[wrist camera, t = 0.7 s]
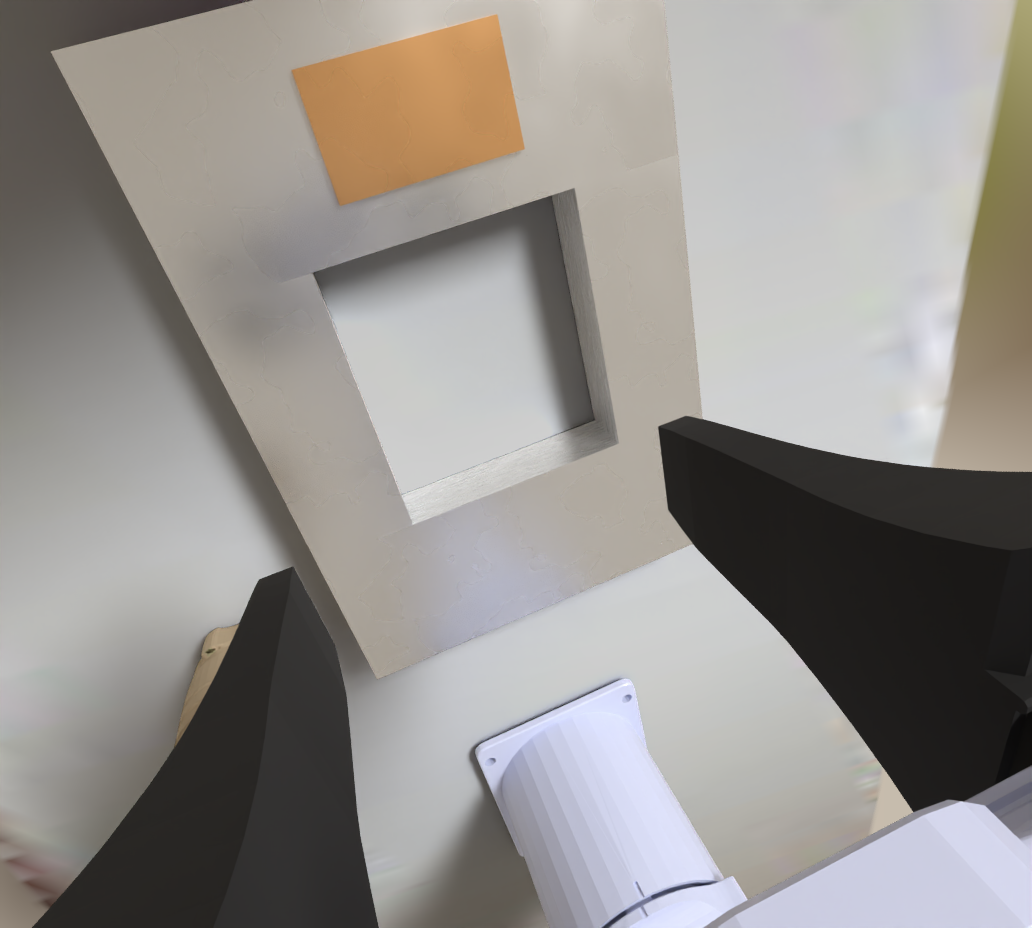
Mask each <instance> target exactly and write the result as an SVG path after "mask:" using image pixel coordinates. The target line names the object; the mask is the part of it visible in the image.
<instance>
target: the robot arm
mask: <svg viewBox="0 0 1032 928" xmlns="http://www.w3.org/2000/svg"><path fill="white" fill-rule="evenodd" d="M658 431H659V439H660V447H661V456H662V464H663V472H664V481H665V489H666V497H667V505H668V511H669V512H670V513H671V515H672V516H673V518H674V519H675V520H676V522H677V523H678V525H679V526H680V527H681V529H682V530H683V531H684V533H685V534H686V535H687V537H688V538H689V539H690V541H691V542H692V543H693V544H694V546H695V547H696V548H697V549H698V550H699V551H700V552H701V553H702V554H703V556H704V557H705V558H706V559H707V560H708V561H709V562H710V563H711V564H712V565H713V566H714V567H715V568H716V569H717V570H718V571H719V572H720V573H721V574H722V575H723V576H724V577H725V578H726V579H727V580H728V581H729V582H730V583H731V584H732V585H733V586H734V587H735V588H736V589H737V590H738V591H739V592H740V593H741V594H742V595H743V596H744V597H745V598H746V599H747V600H748V601H749V602H750V603H751V604H752V605H753V606H754V607H755V608H756V609H757V610H758V611H759V612H760V613H761V614H762V615H763V616H764V617H765V618H766V619H767V620H768V621H769V622H770V623H771V624H772V625H773V626H774V627H775V628H776V630H777V631H778V632H779V633H780V634H781V635H782V636H783V637H784V638H785V639H786V640H787V642H788V643H789V644H790V645H791V647H792V648H793V649H794V650H795V652H796V653H797V654H798V655H799V657H800V658H801V659H802V660H803V661H804V663H805V664H806V665H807V666H808V668H809V669H810V670H811V671H812V673H813V674H814V675H815V676H816V678H817V679H818V680H819V681H820V683H821V684H822V685H823V687H824V688H825V689H826V691H827V692H828V693H829V695H830V696H831V697H832V699H833V700H834V701H835V702H836V704H837V705H838V706H839V708H840V709H841V710H842V712H843V713H844V714H845V716H846V717H847V718H848V720H849V721H850V722H851V723H852V725H853V726H854V728H855V729H856V730H857V732H858V733H859V735H860V736H861V737H862V739H863V740H864V742H865V743H866V744H867V746H868V747H869V749H870V750H871V751H872V753H873V754H874V756H875V757H876V758H877V760H878V761H879V763H880V764H881V765H882V767H883V768H884V769H885V771H886V772H887V774H888V775H889V776H890V778H891V779H892V781H893V782H894V784H895V785H896V787H897V788H898V790H899V791H900V793H901V794H902V796H903V797H904V799H905V800H906V801H907V803H908V805H909V806H910V808H911V809H912V811H913V813H911V814H910V815H908V816H906V817H904V818H902V819H900V820H898V821H896V822H894V823H892V824H890V825H889V826H887V827H885V828H883V829H881V830H879V831H877V832H875V833H873V834H872V835H870V836H868V837H866V838H864V839H862V840H860V841H858V842H856V843H855V844H853V845H851V846H849V847H847V848H845V849H843V850H841V851H839V852H838V853H836V854H834V855H832V856H830V857H828V858H826V859H824V860H822V861H820V862H819V863H817V864H815V865H813V866H811V867H809V868H807V869H805V870H803V871H802V872H800V873H798V874H796V875H794V876H792V877H790V878H788V879H786V880H785V881H783V882H781V883H779V884H777V885H775V886H773V887H771V888H769V889H768V890H766V891H764V892H762V893H760V894H757V895H755V896H754V897H752V898H750V899H749V900H747V898H746V896H745V895H744V893H743V891H742V890H741V888H740V887H739V885H738V883H737V882H736V880H735V878H734V877H733V876H730V877H728V878H726V879H724V877H723V876H722V874H721V872H720V871H719V869H718V867H717V866H716V864H715V862H714V861H713V859H712V857H711V856H710V854H709V852H708V851H707V849H706V847H705V846H704V844H703V842H702V841H701V839H700V837H699V836H698V834H697V832H696V831H695V829H694V827H693V826H692V824H691V822H690V821H689V819H688V817H687V816H686V814H685V812H684V811H683V809H682V807H681V806H680V804H679V802H678V801H677V799H676V797H675V796H674V794H673V792H672V791H671V789H670V787H669V786H668V784H667V782H666V781H665V779H664V777H663V776H662V774H661V772H660V771H659V769H658V767H657V766H656V764H655V762H654V761H653V759H652V757H651V756H650V754H649V752H648V751H647V746H646V741H645V736H644V731H643V726H642V721H641V717H640V712H639V707H638V702H637V697H636V692H635V687H634V685H633V684H632V682H631V680H629V679H621V680H618V681H616V682H614V683H612V684H610V685H608V686H605V687H603V688H601V689H599V690H597V691H594V692H592V693H590V694H588V695H586V696H584V697H581V698H579V699H577V700H575V701H573V702H570V703H568V704H566V705H564V706H562V707H560V708H557V709H555V710H553V711H551V712H549V713H546V714H544V715H542V716H540V717H538V718H535V719H533V720H531V721H529V722H527V723H525V724H522V725H520V726H518V727H516V728H514V729H511V730H509V731H507V732H505V733H503V734H501V735H498V736H496V737H494V738H492V739H490V740H487V741H485V742H483V743H481V744H480V745H479V746H478V747H477V748H476V750H475V754H476V757H477V760H478V762H479V765H480V767H481V769H482V771H483V774H484V776H485V778H486V781H487V783H488V785H489V787H490V790H491V792H492V794H493V796H494V799H495V801H496V803H497V806H498V808H499V810H500V812H501V815H502V817H503V819H504V821H505V824H506V826H507V828H508V831H509V833H510V835H511V837H512V840H513V842H514V844H515V846H516V849H517V851H518V853H519V855H520V856H523V857H524V858H525V861H526V863H527V866H528V869H529V872H530V875H531V878H532V880H533V883H534V886H535V889H536V892H537V895H538V897H539V900H540V903H541V906H542V909H543V912H544V914H545V917H546V920H547V923H548V926H549V928H1032V472H996V471H972V470H956V469H944V468H931V467H921V466H911V465H902V464H895V463H889V462H882V461H875V460H868V459H861V458H856V457H850V456H845V455H840V454H835V453H831V452H826V451H821V450H817V449H812V448H808V447H804V446H800V445H795V444H791V443H787V442H784V441H780V440H776V439H772V438H769V437H765V436H761V435H758V434H754V433H750V432H747V431H743V430H740V429H736V428H733V427H729V426H726V425H722V424H718V423H715V422H711V421H707V420H703V419H699V418H695V417H690V416H684V417H681V418H679V419H676V420H673V421H671V422H668V423H666V424H663V425H660V426H658ZM32 928H379V927H378V922H377V917H376V913H375V908H374V903H373V898H372V894H371V889H370V883H369V878H368V873H367V868H366V863H365V858H364V853H363V848H362V843H361V837H360V830H359V823H358V815H357V806H356V795H355V783H354V772H353V761H352V749H351V738H350V727H349V717H348V706H347V697H346V691H345V687H344V682H343V677H342V673H341V669H340V664H339V660H338V656H337V651H336V647H335V645H334V643H333V641H332V639H331V637H330V635H329V633H328V631H327V629H326V628H325V626H324V624H323V622H322V620H321V618H320V616H319V614H318V613H317V611H316V609H315V607H314V605H313V603H312V601H311V599H310V597H309V596H308V594H307V592H306V590H305V588H304V586H303V584H302V582H301V580H300V579H299V577H298V575H297V573H296V571H295V569H294V567H290V568H288V569H285V570H283V571H280V572H277V573H275V574H272V575H270V576H267V577H264V578H262V579H259V581H258V583H257V585H256V587H255V589H254V591H253V593H252V595H251V598H250V600H249V602H248V605H247V607H246V609H245V612H244V614H243V616H242V618H241V621H240V623H239V625H238V628H237V630H236V632H235V634H234V637H233V639H232V641H231V643H230V645H229V647H228V649H227V652H226V654H225V656H224V658H223V660H222V662H221V664H220V666H219V669H218V671H217V673H216V675H215V677H214V679H213V681H212V683H211V685H210V686H209V688H208V690H207V692H206V694H205V696H204V698H203V699H202V701H201V703H200V705H199V707H198V709H197V711H196V712H195V714H194V716H193V718H192V720H191V722H190V723H189V725H188V727H187V728H186V730H185V732H184V733H183V735H182V737H181V738H180V740H179V741H178V743H177V745H176V746H175V748H174V749H173V751H172V752H171V754H170V755H169V757H168V758H167V760H166V761H165V763H164V764H163V766H162V767H161V769H160V770H159V772H158V773H157V775H156V776H155V778H154V779H153V781H152V782H151V784H150V785H149V786H148V788H147V789H146V790H145V792H144V793H143V794H142V796H141V797H140V798H139V800H138V801H137V802H136V804H135V805H134V806H133V808H132V809H131V810H130V812H129V813H128V814H127V815H126V817H125V818H124V819H123V821H122V822H121V823H120V825H119V826H118V827H117V829H116V830H115V831H114V833H113V834H112V835H111V837H110V838H109V839H108V841H107V842H106V843H105V844H104V846H103V847H102V848H101V849H100V850H99V852H98V853H97V854H96V855H95V856H94V858H93V859H92V860H91V861H90V862H89V864H88V865H87V866H86V867H85V868H84V870H83V871H82V872H81V873H80V874H79V876H78V877H77V878H76V879H75V880H74V881H73V882H72V884H71V885H70V886H69V887H68V888H67V889H66V890H65V892H64V893H63V894H62V895H61V896H60V897H59V898H58V899H57V901H56V902H55V903H54V904H53V905H52V906H51V907H50V909H49V910H48V911H47V912H46V913H45V914H44V915H43V916H42V917H41V918H40V919H39V921H38V922H37V923H36V924H35V925H34V926H33V927H32Z"/></svg>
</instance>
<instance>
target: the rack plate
mask: <svg viewBox="0 0 1032 928" xmlns="http://www.w3.org/2000/svg"><path fill="white" fill-rule="evenodd" d="M51 53H52V55H53V57H54V59H55V61H56V63H57V65H58V67H59V69H60V71H61V73H62V75H63V76H64V78H65V80H66V82H67V84H68V86H69V88H70V90H71V92H72V94H73V96H74V98H75V100H76V101H77V103H78V105H79V107H80V109H81V111H82V113H83V115H84V117H85V119H86V121H87V123H88V125H89V126H90V128H91V130H92V132H93V134H94V136H95V138H96V140H97V142H98V144H99V146H100V148H101V150H102V151H103V153H104V155H105V157H106V159H107V161H108V163H109V165H110V167H111V169H112V171H113V173H114V175H115V176H116V178H117V180H118V182H119V184H120V186H121V188H122V190H123V192H124V194H125V196H126V198H127V200H128V201H129V203H130V205H131V207H132V209H133V211H134V213H135V215H136V217H137V219H138V221H139V223H140V225H141V226H142V228H143V230H144V232H145V234H146V236H147V238H148V240H149V242H150V244H151V246H152V248H153V250H154V251H155V253H156V255H157V257H158V259H159V261H160V263H161V265H162V267H163V269H164V271H165V273H166V275H167V276H168V278H169V280H170V282H171V284H172V286H173V288H174V290H175V292H176V294H177V296H178V298H179V300H180V301H181V303H182V305H183V307H184V309H185V311H186V313H187V315H188V317H189V319H190V321H191V323H192V325H193V326H194V328H195V330H196V332H197V334H198V336H199V338H200V340H201V342H202V344H203V346H204V348H205V350H206V351H207V353H208V355H209V357H210V359H211V361H212V363H213V365H214V367H215V369H216V371H217V373H218V375H219V376H220V378H221V380H222V382H223V384H224V386H225V388H226V390H227V392H228V394H229V396H230V398H231V400H232V401H233V403H234V405H235V407H236V409H237V411H238V413H239V415H240V417H241V419H242V421H243V423H244V425H245V426H246V428H247V430H248V432H249V434H250V436H251V438H252V440H253V442H254V444H255V446H256V448H257V450H258V451H259V453H260V455H261V457H262V459H263V461H264V463H265V465H266V467H267V469H268V471H269V473H270V475H271V476H272V478H273V480H274V482H275V484H276V486H277V488H278V490H279V492H280V494H281V496H282V498H283V500H284V501H285V503H286V505H287V507H288V509H289V511H290V513H291V515H292V517H293V519H294V521H295V523H296V525H297V526H298V528H299V530H300V532H301V534H302V536H303V538H304V540H305V542H306V544H307V546H308V548H309V550H310V551H311V553H312V555H313V557H314V559H315V561H316V563H317V565H318V567H319V569H320V571H321V573H322V575H323V576H324V578H325V580H326V582H327V584H328V586H329V588H330V590H331V592H332V594H333V596H334V598H335V600H336V601H337V603H338V605H339V607H340V609H341V611H342V613H343V615H344V617H345V619H346V621H347V623H348V625H349V626H350V628H351V630H352V632H353V634H354V636H355V638H356V640H357V642H358V644H359V646H360V648H361V650H362V651H363V653H364V655H365V657H366V659H367V661H368V663H369V665H370V667H371V669H372V671H373V673H374V675H375V676H376V678H377V679H380V678H382V677H384V676H387V675H389V674H391V673H394V672H396V671H398V670H401V669H403V668H405V667H408V666H410V665H412V664H415V663H417V662H419V661H422V660H424V659H426V658H429V657H431V656H433V655H436V654H438V653H440V652H443V651H445V650H447V649H450V648H452V647H454V646H457V645H459V644H461V643H464V642H466V641H468V640H470V639H473V638H475V637H477V636H480V635H482V634H484V633H487V632H489V631H491V630H494V629H496V628H498V627H501V626H503V625H505V624H508V623H510V622H512V621H515V620H517V619H519V618H522V617H524V616H526V615H529V614H531V613H533V612H536V611H538V610H540V609H543V608H545V607H547V606H550V605H552V604H554V603H557V602H559V601H561V600H563V599H566V598H568V597H570V596H573V595H575V594H577V593H580V592H582V591H584V590H587V589H589V588H591V587H594V586H596V585H598V584H601V583H603V582H605V581H608V580H610V579H612V578H615V577H617V576H619V575H622V574H624V573H626V572H629V571H631V570H633V569H636V568H638V567H640V566H643V565H645V564H647V563H649V562H652V561H654V560H656V559H659V558H661V557H663V556H666V555H668V554H670V553H673V552H675V551H677V550H680V549H682V548H684V547H687V546H689V545H691V544H693V543H692V542H691V541H690V539H689V538H688V537H687V535H686V534H685V533H684V531H683V530H682V529H681V527H680V526H679V525H678V523H677V522H676V520H675V519H674V518H673V516H672V515H671V513H670V512H669V511H668V505H667V497H666V489H665V481H664V472H663V464H662V456H661V447H660V439H659V431H658V426H660V425H663V424H666V423H668V422H671V421H673V420H676V419H679V418H681V417H684V416H690V417H695V418H699V419H702V408H701V397H700V386H699V375H698V364H697V353H696V342H695V332H694V321H693V310H692V299H691V288H690V277H689V266H688V255H687V244H686V233H685V222H684V211H683V200H682V189H681V178H680V167H679V156H678V145H677V134H676V123H675V112H674V101H673V91H672V80H671V69H670V58H669V47H668V36H667V25H666V14H665V3H664V0H252V1H248V2H244V3H240V4H236V5H232V6H228V7H224V8H220V9H216V10H212V11H208V12H204V13H200V14H197V15H193V16H189V17H185V18H181V19H177V20H173V21H169V22H165V23H161V24H157V25H153V26H149V27H145V28H141V29H137V30H133V31H129V32H125V33H121V34H117V35H113V36H109V37H105V38H102V39H98V40H94V41H90V42H86V43H82V44H78V45H74V46H70V47H66V48H62V49H58V50H54V51H51ZM548 196H552V201H553V206H554V211H555V216H556V222H557V227H558V232H559V237H560V242H561V248H562V253H563V258H564V263H565V269H566V274H567V279H568V284H569V289H570V295H571V300H572V305H573V310H574V315H575V321H576V326H577V331H578V336H579V342H580V347H581V352H582V357H583V362H584V368H585V373H586V378H587V383H588V388H589V394H590V399H591V404H592V409H593V414H594V421H592V422H589V423H586V424H584V425H581V426H579V427H576V428H574V429H571V430H568V431H566V432H563V433H561V434H558V435H555V436H553V437H550V438H548V439H545V440H542V441H540V442H537V443H535V444H532V445H530V446H527V447H524V448H522V449H519V450H517V451H514V452H511V453H509V454H506V455H504V456H501V457H498V458H496V459H493V460H491V461H488V462H486V463H483V464H480V465H478V466H475V467H473V468H470V469H467V470H465V471H462V472H460V473H457V474H454V475H452V476H449V477H447V478H444V479H442V480H439V481H436V482H434V483H431V484H429V485H426V486H423V487H421V488H418V489H416V490H413V491H410V492H408V493H405V494H403V495H402V494H401V491H400V489H399V486H398V484H397V481H396V479H395V476H394V474H393V471H392V469H391V466H390V464H389V461H388V459H387V456H386V454H385V451H384V449H383V446H382V444H381V441H380V439H379V436H378V434H377V431H376V429H375V426H374V424H373V421H372V419H371V416H370V414H369V411H368V409H367V406H366V404H365V401H364V399H363V396H362V394H361V391H360V389H359V386H358V384H357V381H356V378H355V376H354V373H353V371H352V368H351V366H350V363H349V361H348V358H347V356H346V353H345V351H344V348H343V346H342V343H341V341H340V338H339V336H338V333H337V331H336V328H335V326H334V323H333V321H332V318H331V316H330V313H329V311H328V308H327V306H326V303H325V301H324V298H323V296H322V293H321V291H320V288H319V286H318V283H317V281H316V278H315V276H314V273H313V272H316V271H319V270H322V269H325V268H328V267H331V266H334V265H338V264H341V263H344V262H347V261H350V260H353V259H356V258H359V257H362V256H365V255H368V254H372V253H375V252H378V251H381V250H384V249H387V248H390V247H393V246H396V245H399V244H402V243H406V242H409V241H412V240H415V239H418V238H421V237H424V236H427V235H430V234H433V233H437V232H440V231H443V230H446V229H449V228H452V227H455V226H458V225H461V224H464V223H467V222H471V221H474V220H477V219H480V218H483V217H486V216H489V215H492V214H495V213H498V212H501V211H505V210H508V209H511V208H514V207H517V206H520V205H523V204H526V203H529V202H532V201H535V200H539V199H542V198H545V197H548Z"/></svg>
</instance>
